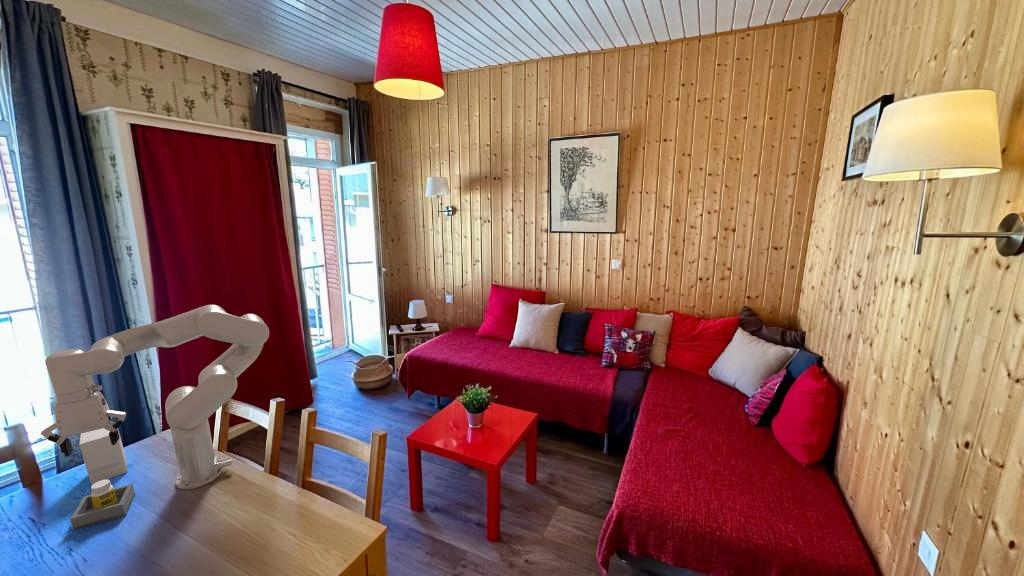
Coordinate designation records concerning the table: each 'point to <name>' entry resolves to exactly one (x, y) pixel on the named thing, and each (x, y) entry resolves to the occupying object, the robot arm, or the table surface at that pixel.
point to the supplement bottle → (103, 494)
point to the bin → (102, 509)
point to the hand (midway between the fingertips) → (92, 448)
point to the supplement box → (102, 455)
